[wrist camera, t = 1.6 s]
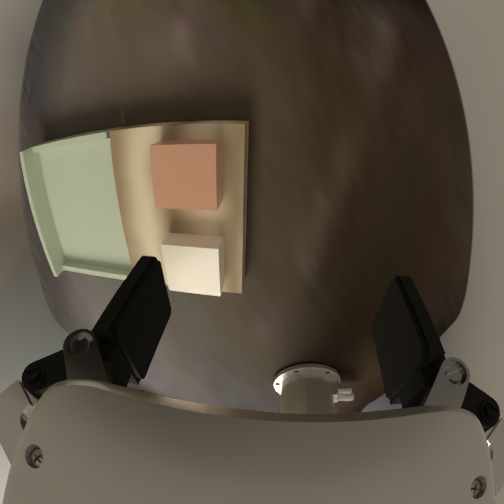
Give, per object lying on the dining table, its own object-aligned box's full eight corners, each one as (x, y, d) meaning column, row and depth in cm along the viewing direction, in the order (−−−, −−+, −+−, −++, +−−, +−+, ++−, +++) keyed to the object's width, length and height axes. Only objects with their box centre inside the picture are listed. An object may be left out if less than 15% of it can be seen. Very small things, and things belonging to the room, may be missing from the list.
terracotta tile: (222, 139, 23) (215, 144, 21) (222, 200, 26) (217, 210, 24) (160, 140, 23) (149, 145, 21) (165, 198, 26) (155, 207, 24)
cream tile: (223, 236, 28) (218, 249, 26) (224, 282, 31) (220, 296, 29) (169, 232, 28) (160, 244, 26) (176, 276, 32) (169, 290, 30)
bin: (121, 126, 25) (95, 135, 21) (142, 267, 36) (127, 290, 31) (44, 141, 26) (19, 152, 22) (71, 257, 37) (54, 276, 32)
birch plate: (249, 120, 24) (245, 123, 22) (245, 277, 34) (241, 293, 32) (123, 126, 25) (109, 131, 23) (144, 267, 35) (135, 280, 33)
